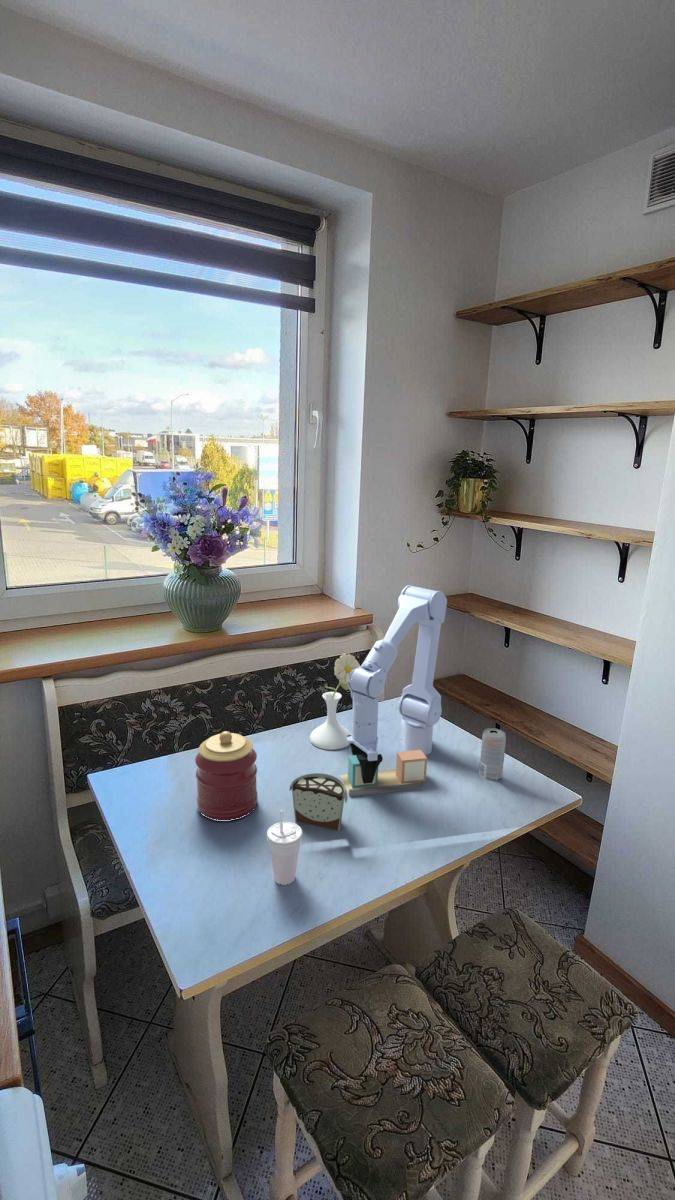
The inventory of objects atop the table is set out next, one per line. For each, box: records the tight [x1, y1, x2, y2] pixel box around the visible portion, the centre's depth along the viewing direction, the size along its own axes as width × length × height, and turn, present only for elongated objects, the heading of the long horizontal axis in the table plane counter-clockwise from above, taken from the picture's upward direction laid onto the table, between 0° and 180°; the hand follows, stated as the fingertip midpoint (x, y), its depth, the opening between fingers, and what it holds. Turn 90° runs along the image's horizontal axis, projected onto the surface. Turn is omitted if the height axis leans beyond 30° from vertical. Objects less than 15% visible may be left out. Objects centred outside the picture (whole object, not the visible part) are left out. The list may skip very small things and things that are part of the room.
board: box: [340, 768, 423, 797], centre depth 141 cm, size 9×17×3 cm, turn 103°
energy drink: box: [478, 727, 507, 783], centre depth 143 cm, size 5×5×12 cm
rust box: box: [395, 750, 428, 784], centre depth 141 cm, size 4×6×6 cm
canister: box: [194, 730, 258, 820], centre depth 130 cm, size 13×13×18 cm
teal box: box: [347, 754, 379, 788], centre depth 139 cm, size 4×6×6 cm
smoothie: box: [266, 809, 303, 886], centre depth 109 cm, size 6×6×14 cm
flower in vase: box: [309, 653, 361, 751], centre depth 157 cm, size 13×11×25 cm
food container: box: [289, 772, 349, 832], centre depth 126 cm, size 12×6×10 cm, turn 71°
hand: (363, 773), depth 140 cm, fingers open, 7 cm apart
